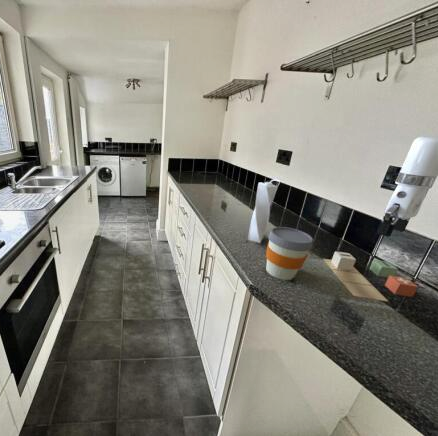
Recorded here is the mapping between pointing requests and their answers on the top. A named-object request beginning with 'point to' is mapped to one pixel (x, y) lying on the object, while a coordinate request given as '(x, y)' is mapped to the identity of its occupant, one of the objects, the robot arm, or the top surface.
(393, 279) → the orange red cube
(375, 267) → the green cube
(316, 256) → the top surface
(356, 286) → the word mat
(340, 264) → the white cube
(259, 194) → the twisted white column
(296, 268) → the reusable coffee cup
